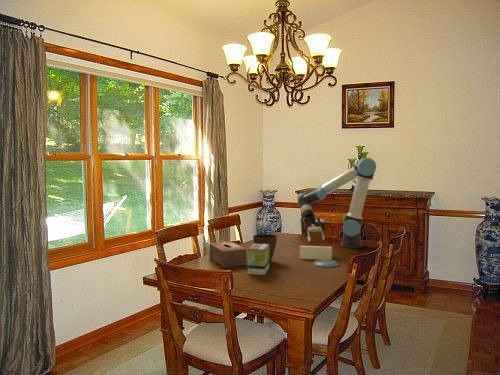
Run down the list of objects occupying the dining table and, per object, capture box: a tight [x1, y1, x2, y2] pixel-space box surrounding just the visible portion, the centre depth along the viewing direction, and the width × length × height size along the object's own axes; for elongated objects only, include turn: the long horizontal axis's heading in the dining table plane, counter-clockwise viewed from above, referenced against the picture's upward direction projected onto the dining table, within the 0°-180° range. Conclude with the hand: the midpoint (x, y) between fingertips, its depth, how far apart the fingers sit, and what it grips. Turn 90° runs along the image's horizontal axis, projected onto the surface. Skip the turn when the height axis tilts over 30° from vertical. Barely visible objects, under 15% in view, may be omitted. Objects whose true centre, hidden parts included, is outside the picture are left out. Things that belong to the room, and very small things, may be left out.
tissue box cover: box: [209, 241, 247, 268], centre depth 267 cm, size 26×14×10 cm, turn 24°
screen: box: [299, 245, 333, 261], centre depth 271 cm, size 20×2×8 cm, turn 80°
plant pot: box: [252, 233, 278, 263], centre depth 266 cm, size 15×15×16 cm
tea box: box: [247, 243, 270, 276], centre depth 244 cm, size 15×10×15 cm, turn 168°
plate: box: [313, 259, 340, 268], centre depth 259 cm, size 15×15×1 cm
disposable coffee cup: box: [307, 225, 322, 246], centre depth 283 cm, size 10×10×12 cm
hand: (316, 239), depth 280 cm, fingers closed on disposable coffee cup, 9 cm apart
